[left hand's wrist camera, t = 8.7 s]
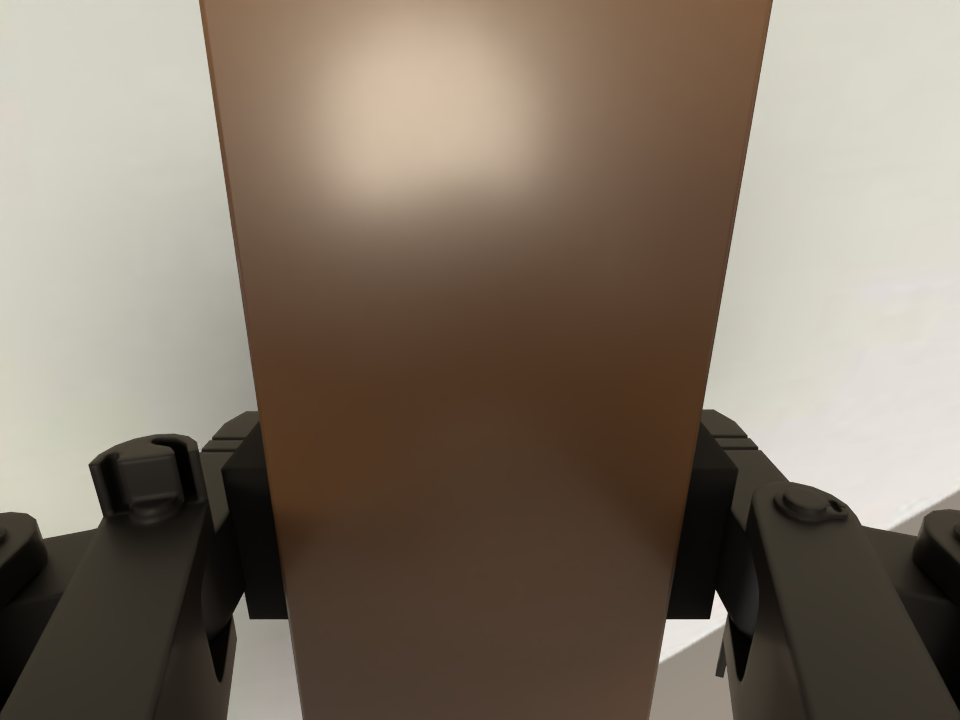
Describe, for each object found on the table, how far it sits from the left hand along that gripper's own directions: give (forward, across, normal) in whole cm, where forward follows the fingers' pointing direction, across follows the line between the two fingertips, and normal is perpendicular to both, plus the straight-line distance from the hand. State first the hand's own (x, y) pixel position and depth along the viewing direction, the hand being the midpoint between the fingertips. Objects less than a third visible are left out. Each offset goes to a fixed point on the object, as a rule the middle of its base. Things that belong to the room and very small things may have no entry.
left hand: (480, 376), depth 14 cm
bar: (+1, 0, -20) cm, 20 cm away
